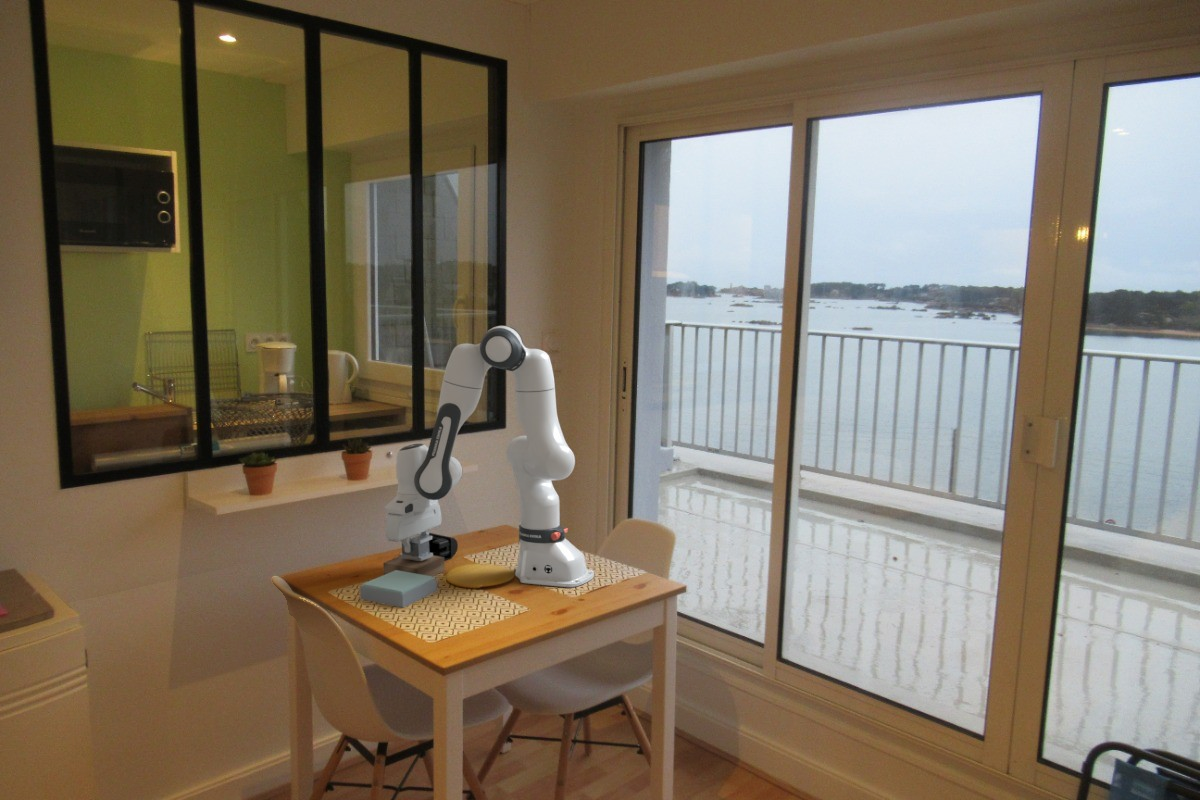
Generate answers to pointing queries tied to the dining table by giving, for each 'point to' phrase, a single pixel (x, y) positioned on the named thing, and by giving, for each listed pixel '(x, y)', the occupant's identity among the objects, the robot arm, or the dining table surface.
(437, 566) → the stand
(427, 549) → the block
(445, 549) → the end cap
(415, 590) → the stand
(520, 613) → the dining table surface
